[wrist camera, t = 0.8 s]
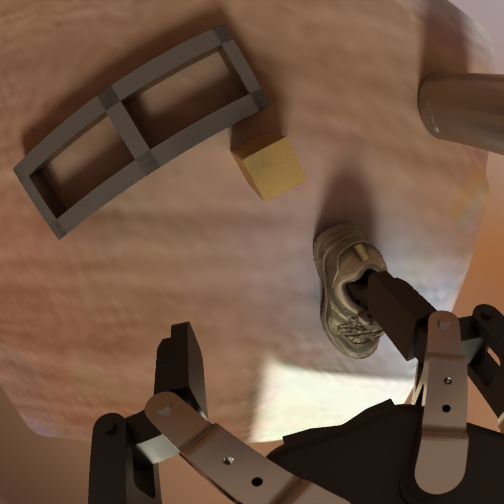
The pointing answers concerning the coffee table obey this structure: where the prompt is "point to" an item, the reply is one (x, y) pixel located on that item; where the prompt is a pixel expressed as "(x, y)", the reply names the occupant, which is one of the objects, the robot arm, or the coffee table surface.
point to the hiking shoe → (348, 288)
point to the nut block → (269, 165)
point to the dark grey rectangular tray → (137, 127)
